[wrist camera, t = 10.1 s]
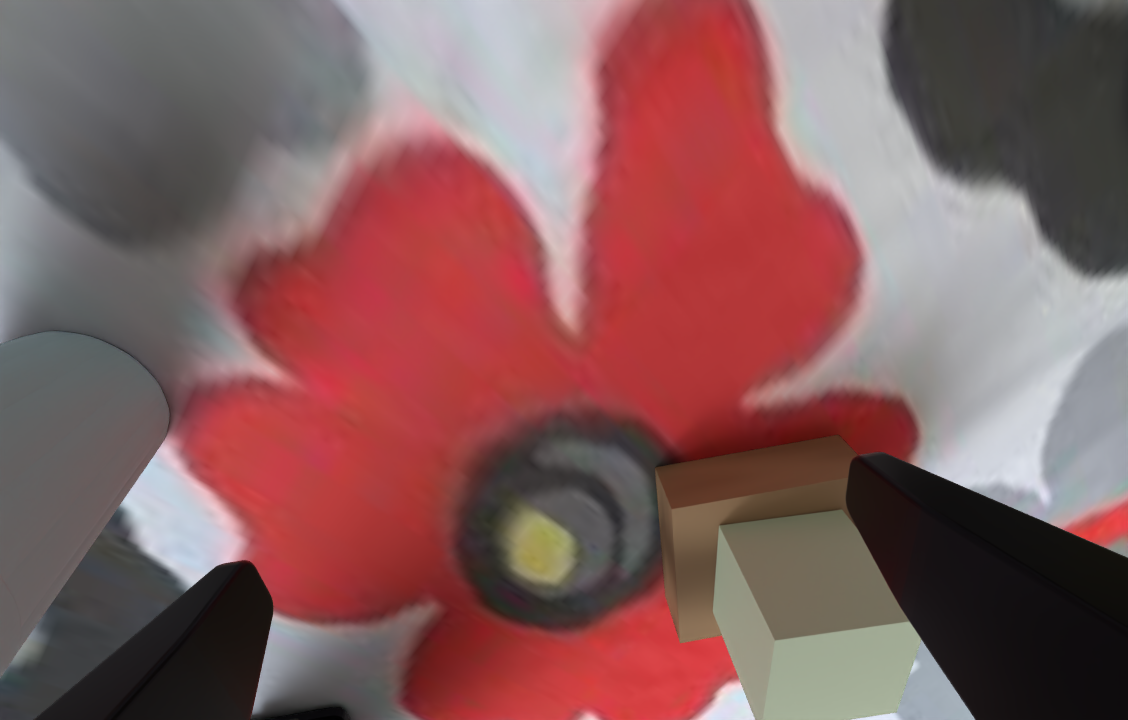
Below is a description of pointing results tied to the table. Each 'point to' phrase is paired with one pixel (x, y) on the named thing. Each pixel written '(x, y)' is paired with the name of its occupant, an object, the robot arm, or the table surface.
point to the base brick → (736, 512)
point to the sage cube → (810, 619)
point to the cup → (64, 462)
